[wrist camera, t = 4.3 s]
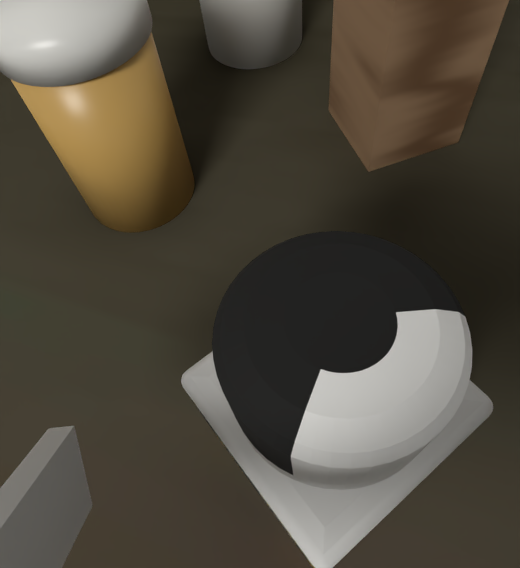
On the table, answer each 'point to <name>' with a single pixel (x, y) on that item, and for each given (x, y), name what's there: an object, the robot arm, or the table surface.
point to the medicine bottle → (337, 383)
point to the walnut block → (407, 72)
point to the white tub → (252, 31)
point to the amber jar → (101, 104)
